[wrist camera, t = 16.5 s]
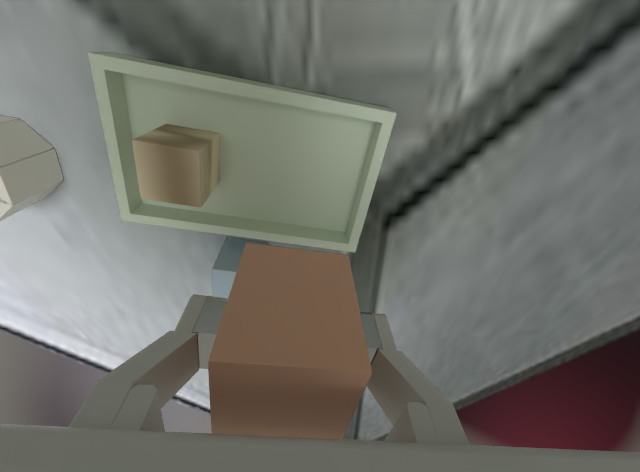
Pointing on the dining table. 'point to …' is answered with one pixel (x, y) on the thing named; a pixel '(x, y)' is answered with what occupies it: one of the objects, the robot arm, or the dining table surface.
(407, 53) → the dining table surface
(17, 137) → the cup
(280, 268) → the terracotta block
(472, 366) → the dining table surface
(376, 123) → the tray
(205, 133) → the birch block
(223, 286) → the blue block
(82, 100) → the dining table surface
